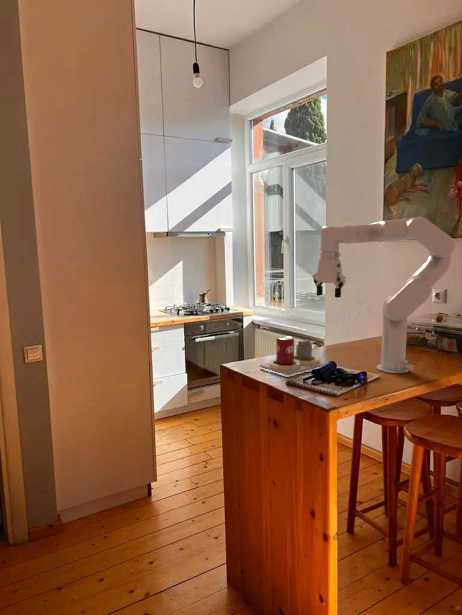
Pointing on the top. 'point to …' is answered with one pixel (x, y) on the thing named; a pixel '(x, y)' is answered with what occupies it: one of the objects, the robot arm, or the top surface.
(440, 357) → the top surface
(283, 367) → the octagonal socket board
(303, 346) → the seated plug
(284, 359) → the soda can
